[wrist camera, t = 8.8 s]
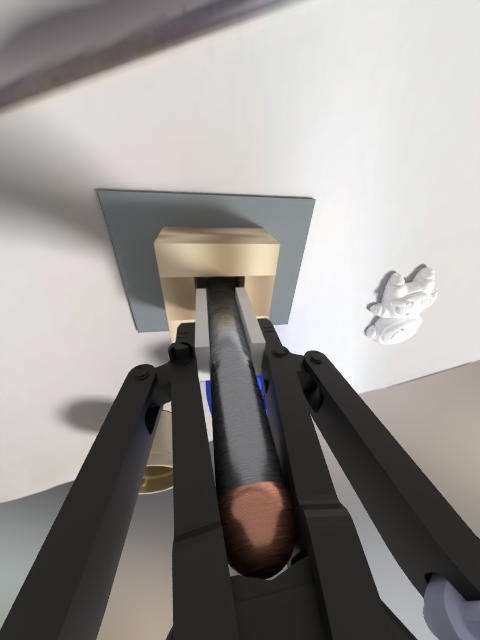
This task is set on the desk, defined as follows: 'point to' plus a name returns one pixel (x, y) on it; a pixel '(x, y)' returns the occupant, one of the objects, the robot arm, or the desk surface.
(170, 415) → the flower pot
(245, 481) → the copper-tipped rod
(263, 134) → the desk surface
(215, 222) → the mat
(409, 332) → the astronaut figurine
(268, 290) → the block with square hole
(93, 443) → the robot arm
